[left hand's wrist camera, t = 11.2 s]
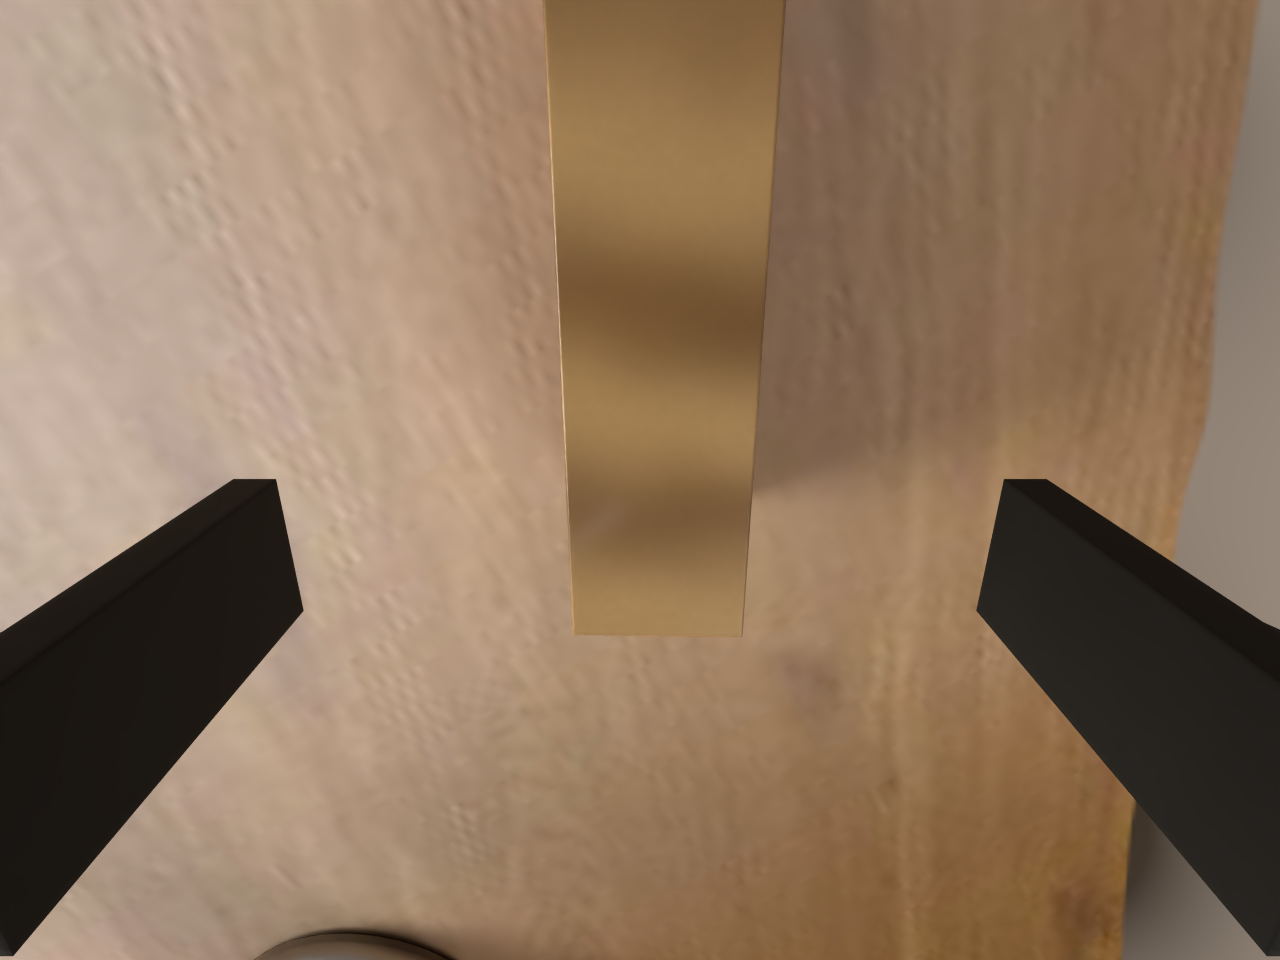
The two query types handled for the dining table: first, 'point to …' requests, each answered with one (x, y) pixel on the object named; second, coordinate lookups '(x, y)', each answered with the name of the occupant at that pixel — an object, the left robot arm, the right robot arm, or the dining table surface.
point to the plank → (661, 298)
